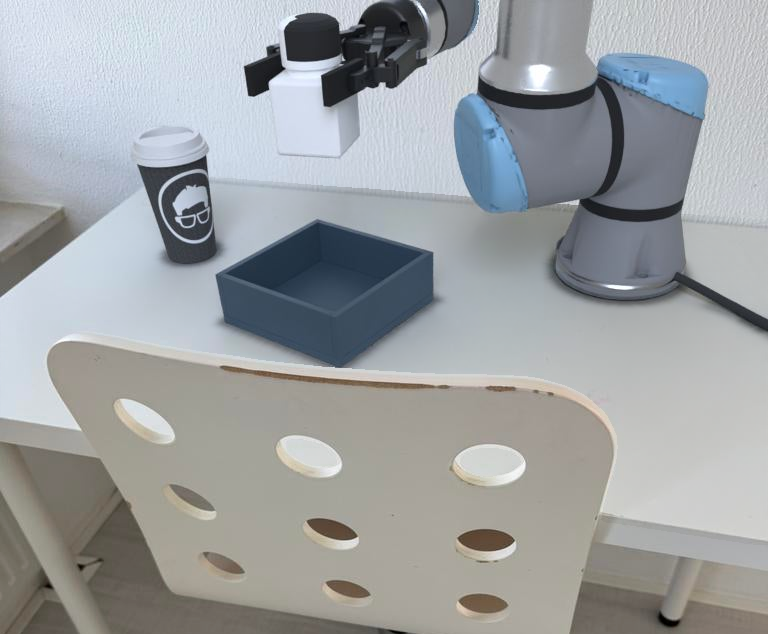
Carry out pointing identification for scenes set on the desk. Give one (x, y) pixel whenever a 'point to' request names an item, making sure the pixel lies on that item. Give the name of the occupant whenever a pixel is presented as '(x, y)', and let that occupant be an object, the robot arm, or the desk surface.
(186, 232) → the coffee cup
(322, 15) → the medicine bottle
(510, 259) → the desk surface
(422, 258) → the bin
